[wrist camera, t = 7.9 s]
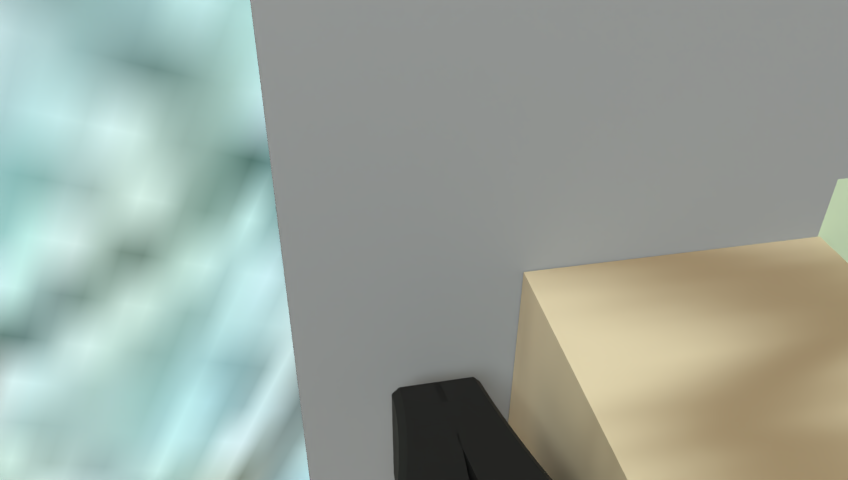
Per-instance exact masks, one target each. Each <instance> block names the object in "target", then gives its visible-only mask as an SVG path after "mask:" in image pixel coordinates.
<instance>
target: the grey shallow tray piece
mask: <svg viewBox="0 0 848 480" xmlns="http://www.w3.org/2000/svg"><path fill="white" fill-rule="evenodd" d="M250 2H251V10H252V18H253V26H254V34H255V42H256V50H257V58H258V66H259V74H260V82H261V90H262V98H263V106H264V114H265V122H266V130H267V139H268V147H269V155H270V163H271V171H272V179H273V187H274V195H275V203H276V211H277V219H278V227H279V235H280V243H281V251H282V259H283V267H284V275H285V283H286V291H287V299H288V307H289V315H290V324H291V332H292V340H293V348H294V356H295V364H296V372H297V380H298V388H299V396H300V404H301V412H302V420H303V428H304V436H305V444H306V452H307V460H308V468H309V476H310V480H395V478H394V464H393V427H392V393H393V392H394V391H396V390H397V389H398V388H399V387H405V386H412V385H419V384H426V383H433V382H440V381H447V380H454V379H461V378H468V377H474V378H476V379H477V380H479V381H480V382H481V384H482V385H483V387H484V389H485V390H486V392H487V393H488V395H489V396H490V398H491V399H492V401H493V402H494V404H495V405H496V407H497V408H498V410H499V411H500V412H501V414H502V415H503V417H504V418H505V419H506V421H507V422H508V418H509V409H510V399H511V389H512V380H513V370H514V360H515V351H516V341H517V331H518V322H519V312H520V302H521V293H522V283H523V273H524V272H528V271H537V270H545V269H553V268H562V267H570V266H578V265H586V264H595V263H603V262H611V261H619V260H628V259H636V258H644V257H653V256H661V255H669V254H677V253H686V252H694V251H702V250H711V249H719V248H727V247H735V246H744V245H752V244H760V243H769V242H777V241H785V240H793V239H802V238H810V237H818V236H820V237H821V238H822V239H823V240H824V241H825V242H826V243H827V244H828V245H829V246H831V247H832V248H833V249H834V250H835V251H836V252H837V253H838V254H839V255H840V256H841V257H842V258H843V259H844V260H845V261H846V262H847V263H848V0H250Z"/></svg>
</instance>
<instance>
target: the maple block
mask: <svg viewBox="0 0 848 480" xmlns="http://www.w3.org/2000/svg"><path fill="white" fill-rule="evenodd" d="M508 424H509V425H510V426H511V428H512V429H513V430H514V432H515V433H516V434H517V436H518V437H519V438H520V440H521V441H522V442H523V444H524V445H525V446H526V448H527V449H528V450H529V451H530V453H531V454H532V455H533V457H534V458H535V459H536V460H537V462H538V463H539V464H540V465H541V466H542V468H543V469H544V470H545V471H546V473H547V474H548V475H549V476H550V477H551V479H552V480H848V263H847V262H846V261H845V260H844V259H843V258H842V257H841V256H840V255H839V254H838V253H837V252H836V251H835V250H834V249H833V248H832V247H831V246H829V245H828V244H827V243H826V242H825V241H824V240H823V239H822V238H821V237H820V236H818V237H810V238H802V239H793V240H785V241H777V242H769V243H760V244H752V245H744V246H735V247H727V248H719V249H711V250H702V251H694V252H686V253H677V254H669V255H661V256H653V257H644V258H636V259H628V260H619V261H611V262H603V263H595V264H586V265H578V266H570V267H562V268H553V269H545V270H537V271H528V272H524V273H523V283H522V293H521V302H520V312H519V322H518V331H517V341H516V351H515V360H514V370H513V380H512V389H511V399H510V409H509V418H508Z"/></svg>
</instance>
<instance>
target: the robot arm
mask: <svg viewBox="0 0 848 480" xmlns="http://www.w3.org/2000/svg"><path fill="white" fill-rule="evenodd" d="M392 427H393V464H394V478H395V480H552V479H551V477H550V476H549V475H548V474H547V473H546V471H545V470H544V469H543V468H542V466H541V465H540V464H539V463H538V462H537V460H536V459H535V458H534V457H533V455H532V454H531V453H530V451H529V450H528V449H527V448H526V446H525V445H524V444H523V442H522V441H521V440H520V438H519V437H518V436H517V434H516V433H515V432H514V430H513V429H512V428H511V426H510V425H509V424H508V422H507V421H506V419H505V418H504V417H503V415H502V414H501V412H500V411H499V410H498V408H497V407H496V405H495V404H494V402H493V401H492V399H491V398H490V396H489V395H488V393H487V392H486V390H485V389H484V387H483V385H482V384H481V382H480V381H479V380H477V379H476V378H474V377H468V378H461V379H454V380H447V381H440V382H433V383H426V384H419V385H412V386H405V387H399V388H398V389H397V390H396V391H394V392H393V393H392Z"/></svg>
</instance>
